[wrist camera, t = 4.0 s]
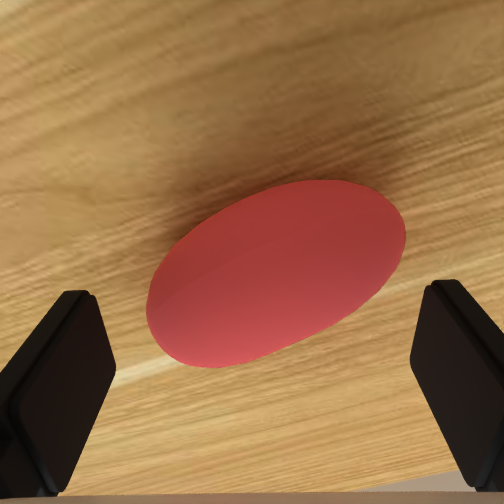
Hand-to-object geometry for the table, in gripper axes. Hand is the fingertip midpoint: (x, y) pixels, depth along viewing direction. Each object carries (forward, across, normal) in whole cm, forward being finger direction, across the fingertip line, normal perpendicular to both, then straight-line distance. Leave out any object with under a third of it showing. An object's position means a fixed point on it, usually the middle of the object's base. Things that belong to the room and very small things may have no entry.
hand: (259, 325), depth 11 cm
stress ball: (+5, 0, 0) cm, 5 cm away
